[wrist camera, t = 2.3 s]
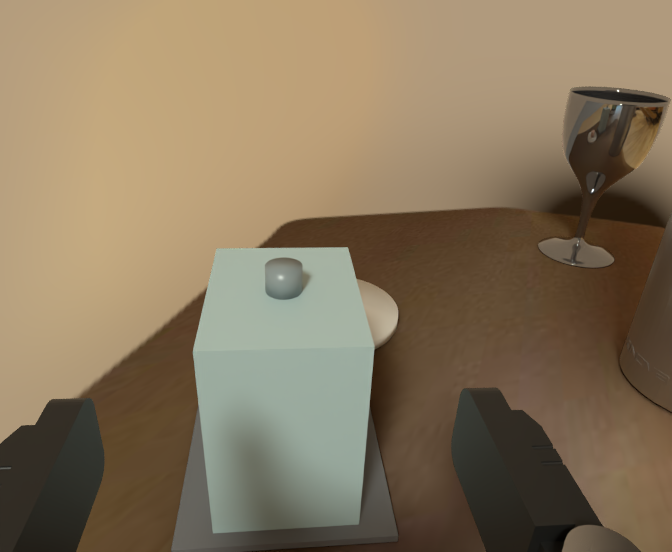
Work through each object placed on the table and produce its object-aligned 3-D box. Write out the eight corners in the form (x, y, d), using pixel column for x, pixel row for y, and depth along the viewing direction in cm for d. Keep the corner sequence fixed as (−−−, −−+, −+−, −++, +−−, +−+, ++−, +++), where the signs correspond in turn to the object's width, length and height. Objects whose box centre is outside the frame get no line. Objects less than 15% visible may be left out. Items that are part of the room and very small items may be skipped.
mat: (365, 394, 33) (366, 389, 33) (397, 541, 24) (398, 535, 24) (200, 400, 32) (200, 395, 32) (172, 556, 23) (171, 550, 23)
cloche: (339, 398, 32) (348, 225, 27) (359, 524, 25) (377, 319, 19) (228, 402, 31) (215, 226, 26) (212, 533, 24) (190, 323, 19)
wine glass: (563, 272, 49) (608, 103, 42) (518, 237, 56) (551, 86, 49) (637, 267, 50) (693, 102, 43) (586, 233, 57) (627, 86, 50)
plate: (384, 282, 46) (385, 274, 46) (410, 355, 37) (412, 346, 36) (262, 284, 45) (261, 276, 44) (258, 360, 36) (257, 350, 35)
